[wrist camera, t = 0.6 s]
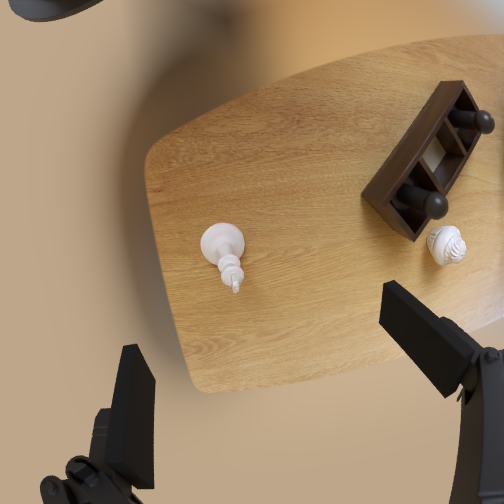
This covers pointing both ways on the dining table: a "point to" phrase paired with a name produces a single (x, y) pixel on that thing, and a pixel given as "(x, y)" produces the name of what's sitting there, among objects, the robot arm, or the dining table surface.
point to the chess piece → (225, 252)
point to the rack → (425, 158)
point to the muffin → (446, 245)
